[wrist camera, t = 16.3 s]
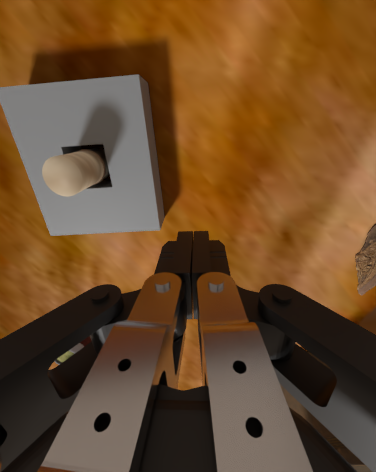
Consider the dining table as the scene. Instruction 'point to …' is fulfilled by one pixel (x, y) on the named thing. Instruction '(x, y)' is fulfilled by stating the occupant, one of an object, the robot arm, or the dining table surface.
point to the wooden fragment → (367, 263)
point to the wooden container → (325, 429)
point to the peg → (75, 171)
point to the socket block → (90, 133)
